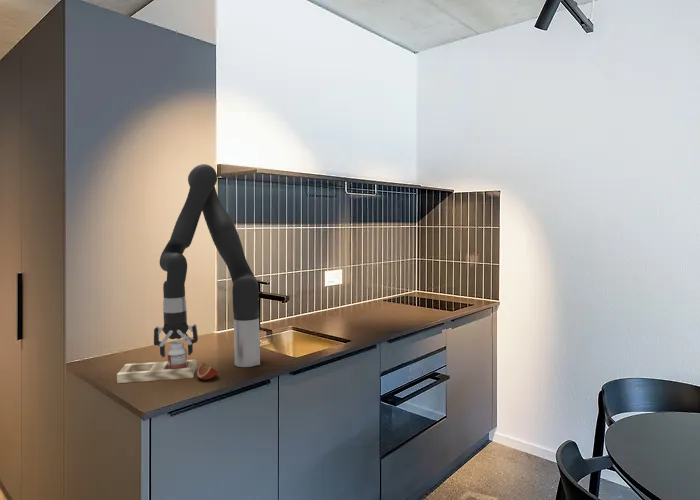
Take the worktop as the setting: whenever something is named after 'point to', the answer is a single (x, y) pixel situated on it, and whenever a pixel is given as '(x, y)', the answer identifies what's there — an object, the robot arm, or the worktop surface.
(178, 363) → the pill bottle
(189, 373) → the rail
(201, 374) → the fruit slice
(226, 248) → the robot arm
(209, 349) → the worktop surface
